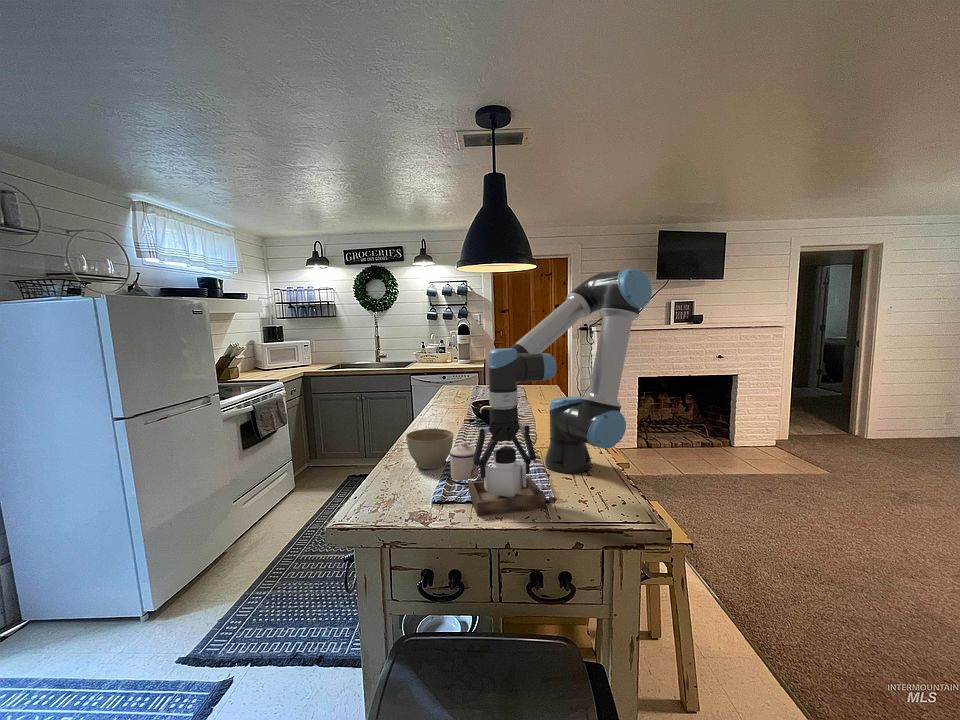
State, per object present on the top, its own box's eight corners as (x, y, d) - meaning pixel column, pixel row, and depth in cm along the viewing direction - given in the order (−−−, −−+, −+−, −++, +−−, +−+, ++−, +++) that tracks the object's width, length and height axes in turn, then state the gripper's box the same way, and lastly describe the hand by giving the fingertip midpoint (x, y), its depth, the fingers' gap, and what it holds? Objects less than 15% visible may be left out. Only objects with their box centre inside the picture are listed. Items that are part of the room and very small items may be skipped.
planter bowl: (438, 476, 134) (437, 443, 133) (397, 469, 141) (396, 438, 140) (462, 460, 149) (461, 430, 147) (424, 455, 156) (423, 426, 154)
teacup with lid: (477, 485, 126) (476, 447, 125) (447, 484, 128) (446, 446, 126) (482, 470, 138) (481, 436, 137) (455, 470, 139) (454, 435, 138)
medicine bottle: (522, 488, 116) (521, 445, 115) (513, 498, 110) (512, 453, 109) (498, 484, 119) (497, 443, 118) (488, 494, 113) (487, 450, 112)
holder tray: (529, 487, 123) (529, 476, 123) (545, 508, 109) (545, 495, 109) (468, 493, 120) (468, 482, 120) (477, 516, 106) (477, 502, 106)
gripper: (464, 412, 107) (466, 496, 109) (548, 406, 110) (549, 488, 113) (460, 406, 114) (462, 485, 116) (539, 401, 118) (540, 478, 120)
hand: (505, 487), depth 114 cm, fingers closed on medicine bottle, 10 cm apart
